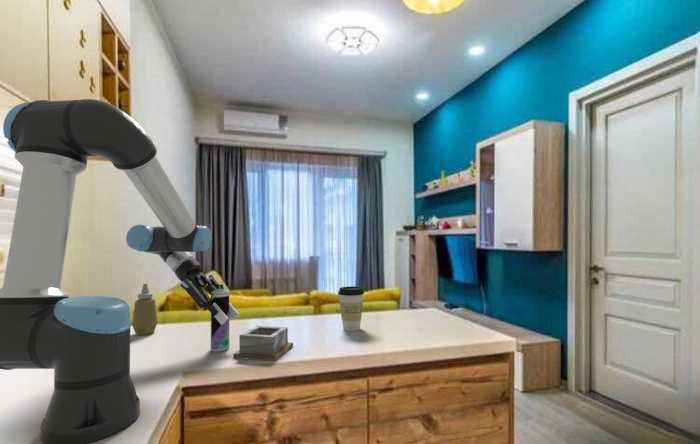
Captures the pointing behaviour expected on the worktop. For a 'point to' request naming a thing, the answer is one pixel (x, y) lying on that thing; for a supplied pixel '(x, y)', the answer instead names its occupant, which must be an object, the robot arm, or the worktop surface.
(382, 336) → the worktop surface
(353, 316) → the coffee cup
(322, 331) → the worktop surface
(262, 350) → the socket stand
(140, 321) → the squeeze bottle
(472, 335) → the worktop surface
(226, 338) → the spray can
